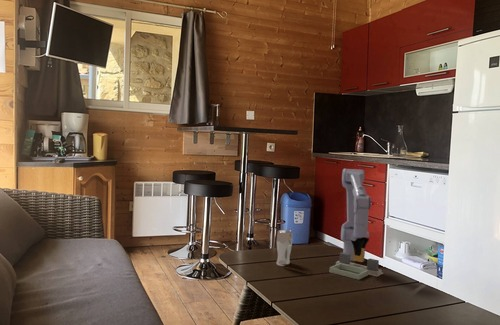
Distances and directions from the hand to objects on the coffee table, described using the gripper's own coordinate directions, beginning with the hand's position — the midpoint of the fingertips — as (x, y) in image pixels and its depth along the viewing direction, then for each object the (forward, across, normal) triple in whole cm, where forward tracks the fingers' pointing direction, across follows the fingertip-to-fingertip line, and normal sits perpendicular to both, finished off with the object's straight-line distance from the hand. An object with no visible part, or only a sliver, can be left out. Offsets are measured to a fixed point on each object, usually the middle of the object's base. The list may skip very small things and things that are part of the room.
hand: (358, 254), depth 180 cm
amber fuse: (+3, 0, 0) cm, 3 cm away
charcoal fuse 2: (+6, 0, -6) cm, 9 cm away
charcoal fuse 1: (+6, 0, +6) cm, 9 cm away
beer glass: (+8, -17, +28) cm, 33 cm away
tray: (+7, -9, 0) cm, 12 cm away
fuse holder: (+7, 0, 0) cm, 7 cm away
